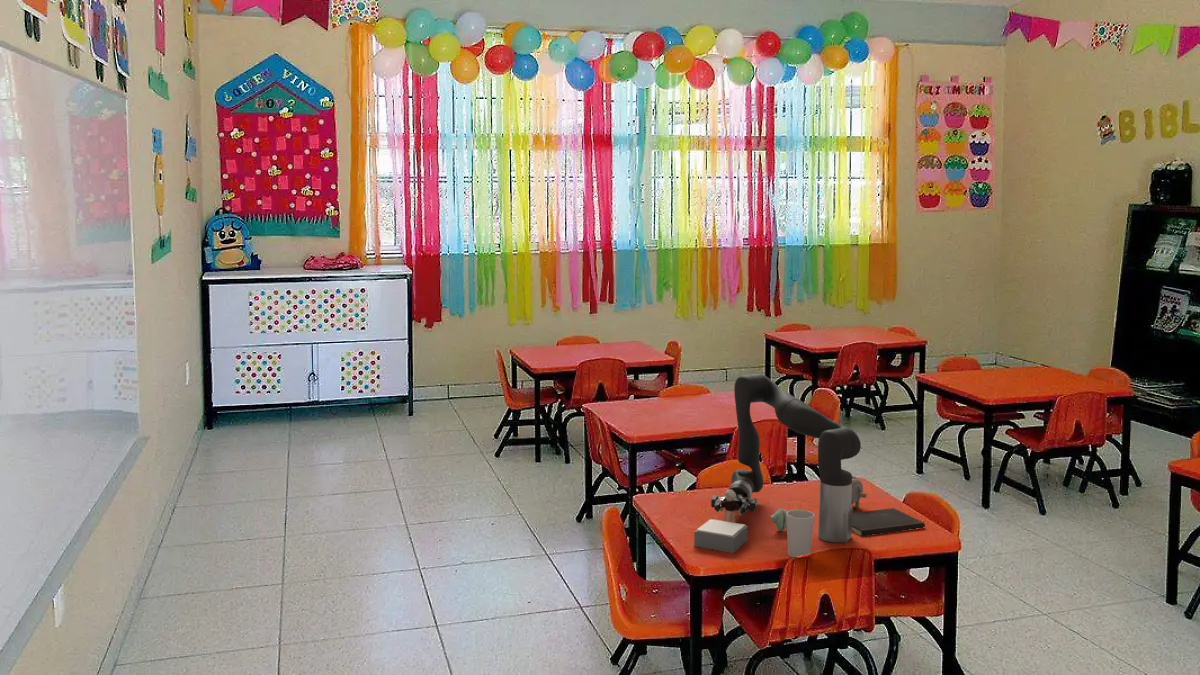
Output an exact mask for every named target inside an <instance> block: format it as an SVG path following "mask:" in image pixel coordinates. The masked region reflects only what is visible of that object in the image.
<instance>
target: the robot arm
mask: <svg viewBox="0 0 1200 675" xmlns="http://www.w3.org/2000/svg"><path fill="white" fill-rule="evenodd" d="M733 392H734V403H735V414H736V422H737V430H738V432H737V433H738V440H737V441H738V443H737V444H738V445H737V460H738V462H739V464H742V465H744V466H747V467H749V468H750V469H751V470H748V469H747V470H746V469H736V470H734V471H733V473H732V474H731V479H730V480H731V481H730V482H731V484H730V485H729V487H728V488H727V490H733V491H734V492H735V494H736V496H737V497H735V498H734V500H733V501H734V502H735V503H736V504H738V506H739V507H740V510H741V515H744V514H745V513H747V512H748V511H750V512H754V511H755V510H756V508H757V507H758V498H756V497H754V498H752V496H753V493H759V492H761V490H762V489H763V488H764V478H763V474H762V469H761V464H760V447H761V446H760V443H761V442H760V436H759V432H758V430H757V428H756V426H755V423H754V422H753V420H752V417H751V404H752V403H765V404H767V405H769V406H770V407H772V408H774V412H775V416H776V418H777V420H778V421H779V422H780V424H783V425H784V426H786V427H787V429H790V431H793V432H794V433H797V434H801V435H804V436H808V437H811V438H816V439H818V442H817V443H818V444H817V461H818V462H817V466H818V469H817V470H818V473H819V475H820V476H819V477H820V480H819V483H820V484H819V503H818V504H819V505H818V528H817V537H818V538H819V539H820V540H822V541H826V542H830V543H848V542H849V540H850V539H851V538H852V532H853V531H852V513H854V511H853V509H854V508H853V506H852V505H851V492H852V476H853V474H852V473H851V472H850V471H848V470H846V469H842V460H848V459H851V458H854V457H856V456H857V455H858V454H859V453H860V452H861V448H862V446H861V444H862V443H861V439H860V438H859V436H858V435H857V433H856V432H855V431H854V430H852V429H851V428H850V427H847V426H845V425H843V424H841V423H840V422H836V421H835V420H832V419H831V418H829V417H827V416H826V415H825V414H822V413H821V412H819V411H817V410H816V409H814V408H812V406H810V405H809V404H807V403H805V402H803V401H802V400H801V399H799V398H797V397H795V396H793V395H792V394H790V393H789V392H787V391H786V390H784V389H783V388H781V387H780V386H779V385H777V384H776V383H775V382H774V381H773V380H772V379H770V378H769V377H768V376H766V375H765V374H761V373H755V374H754V373H753V374H743V375H740V376H739V377H737V378H736V380H735V382H734V391H733ZM751 498H752V499H751ZM725 500H727V499H726V494H725V493H724V495H722V496H719V495H718V494H713V495H712V497H711V500H710V507H711V508H713V509H714V511H715V512H720V507H721V504H722V503H723V502H724V501H725ZM723 510H725V507H724V509H723Z"/></svg>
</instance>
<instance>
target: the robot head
mask: <svg viewBox="0 0 1200 675" xmlns="http://www.w3.org/2000/svg"><path fill="white" fill-rule="evenodd" d="M787 512H788V510H786V509H784V508H778V509H777V510H776V511H775V512H774V513H773V514H771V515H770V519H771V521H772V522H773V523H774V525H775V527H776V528H777V530H779V531H785V530H787V518H786V513H787Z"/></svg>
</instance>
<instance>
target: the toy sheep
mask: <svg viewBox="0 0 1200 675" xmlns="http://www.w3.org/2000/svg"><path fill="white" fill-rule="evenodd" d="M862 498H863V499H865V498H867V494H866V493H865V492H864V486H863V482H862V481H861V480H859V479H858V478H857V477H856V476H854V475H852V492H851V506H852V505H853V504H855V509H859V508H860V499H862Z"/></svg>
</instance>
